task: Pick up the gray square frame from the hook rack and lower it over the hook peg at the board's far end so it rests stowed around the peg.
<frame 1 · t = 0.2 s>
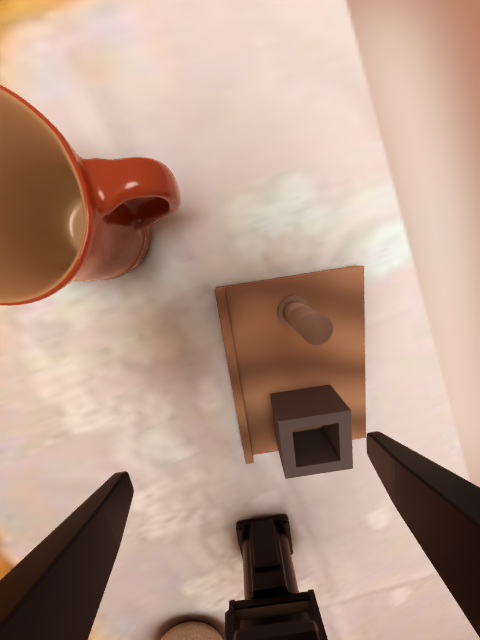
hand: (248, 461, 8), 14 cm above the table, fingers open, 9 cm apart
mug: (130, 229, 19), on the table
gray square frame: (302, 414, 23), point 1 cm above the table, touching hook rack
planter: (192, 632, 33), on the table
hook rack: (295, 365, 23), on the table
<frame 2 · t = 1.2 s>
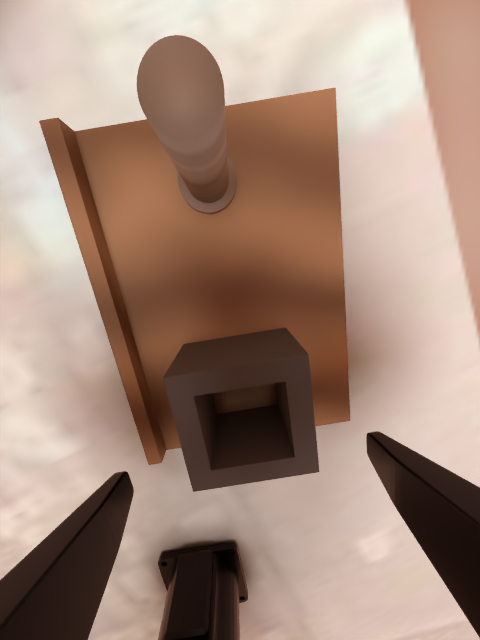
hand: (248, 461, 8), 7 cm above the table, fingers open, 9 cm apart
gray square frame: (242, 381, 14), point 1 cm above the table, touching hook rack
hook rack: (229, 298, 14), on the table
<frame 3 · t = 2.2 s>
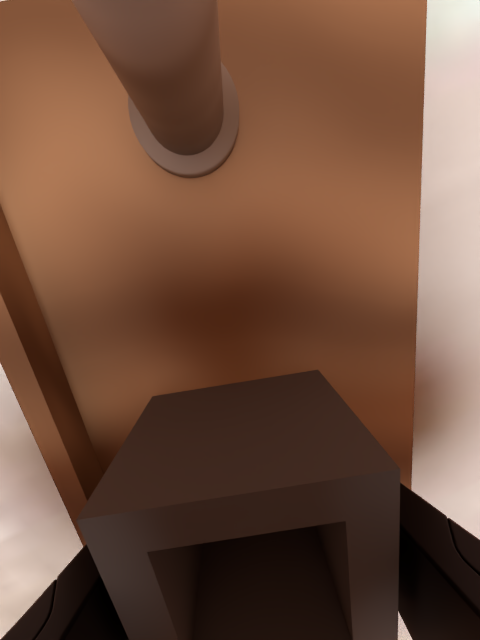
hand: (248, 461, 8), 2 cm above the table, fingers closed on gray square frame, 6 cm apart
gray square frame: (247, 451, 9), point 1 cm above the table, touching gripper, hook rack
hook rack: (226, 321, 9), on the table
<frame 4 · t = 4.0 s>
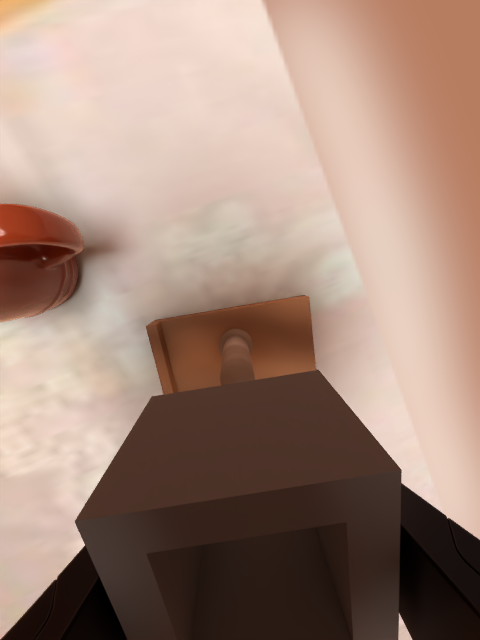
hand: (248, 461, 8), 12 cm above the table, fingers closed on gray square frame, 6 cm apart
mug: (59, 261, 18), on the table
gray square frame: (247, 452, 9), point 12 cm above the table, touching gripper
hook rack: (246, 400, 21), on the table
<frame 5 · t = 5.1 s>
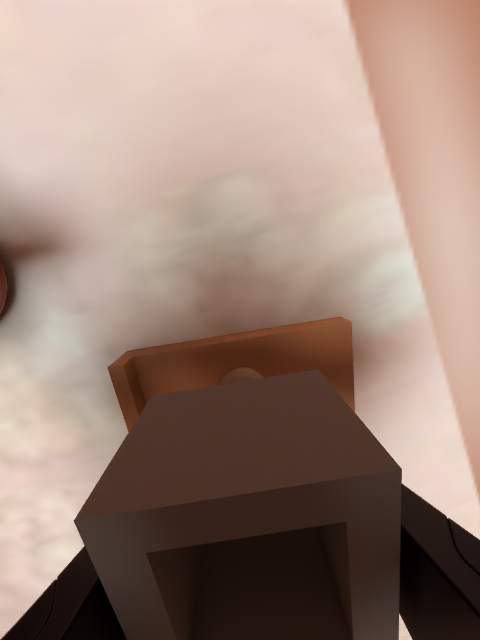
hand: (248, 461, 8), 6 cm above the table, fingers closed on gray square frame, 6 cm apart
gray square frame: (247, 451, 9), point 6 cm above the table, touching gripper
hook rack: (254, 455, 16), on the table
when the fingers open (4 cm above the table, at t = 5.9 s): gray square frame drops 3 cm, resting on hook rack.
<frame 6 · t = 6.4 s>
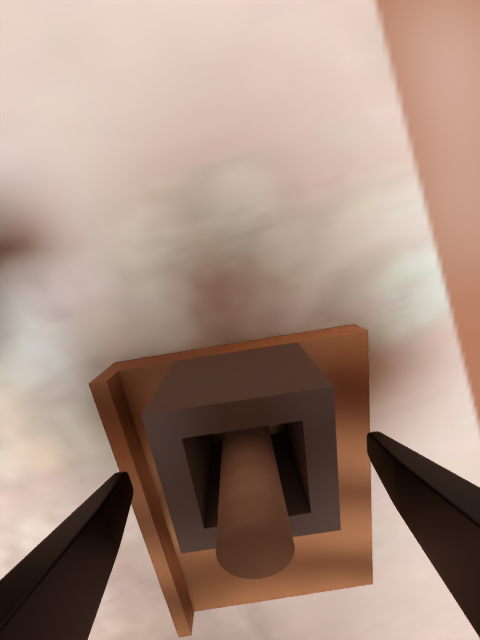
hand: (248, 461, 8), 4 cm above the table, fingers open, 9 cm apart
gray square frame: (244, 405, 11), point 1 cm above the table, touching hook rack
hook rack: (257, 476, 14), on the table
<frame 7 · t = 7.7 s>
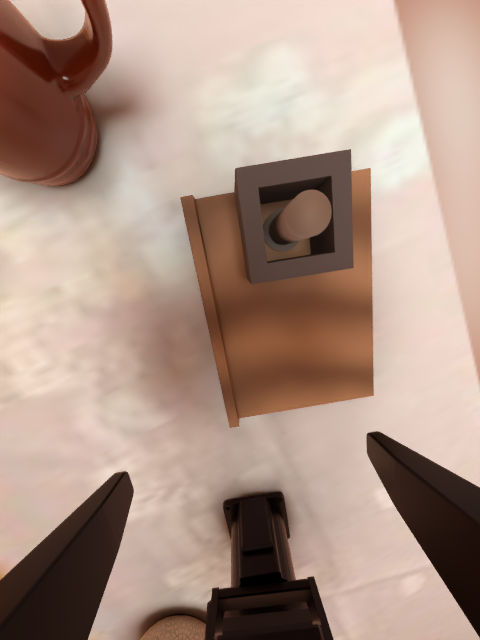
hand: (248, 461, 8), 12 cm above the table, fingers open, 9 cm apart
mug: (74, 127, 15), on the table
gray square frame: (282, 230, 16), point 1 cm above the table, touching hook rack
planter: (180, 627, 30), on the table
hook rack: (287, 307, 19), on the table
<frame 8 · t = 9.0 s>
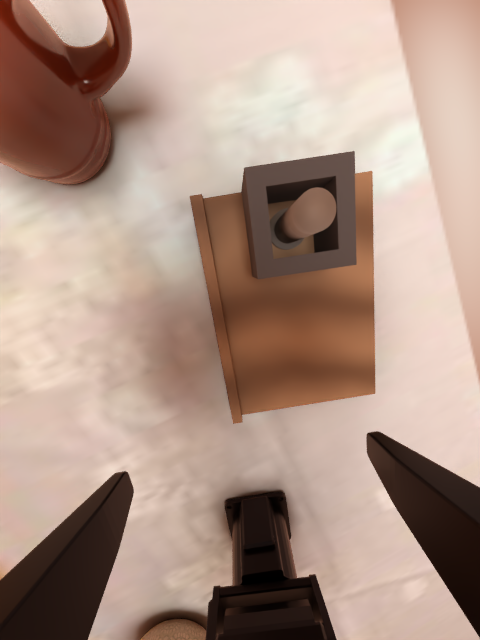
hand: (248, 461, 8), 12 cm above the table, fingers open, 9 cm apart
mug: (88, 129, 16), on the table
gray square frame: (286, 230, 17), point 1 cm above the table, touching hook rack
planter: (178, 632, 29), on the table
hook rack: (290, 305, 19), on the table
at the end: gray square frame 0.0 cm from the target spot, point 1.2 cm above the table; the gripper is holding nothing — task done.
